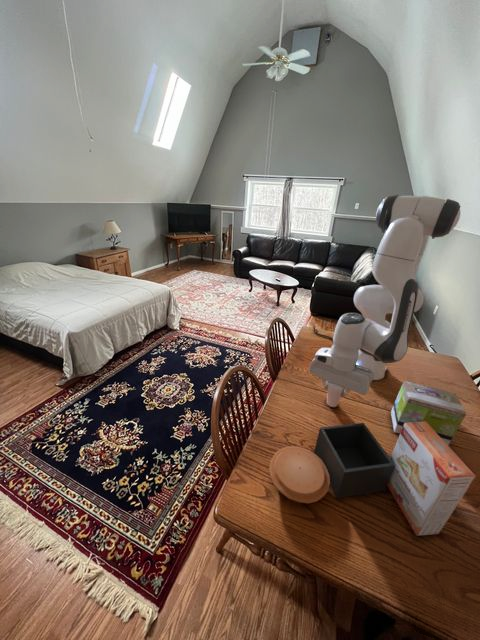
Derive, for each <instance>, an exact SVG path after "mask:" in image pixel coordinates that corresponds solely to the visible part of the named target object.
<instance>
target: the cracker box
mask: <svg viewBox="0 0 480 640" xmlns="http://www.w3.org/2000/svg"><path fill="white" fill-rule="evenodd" d="M389 457H390V459H391V460H392V461H393V463H394V464H395V468H394V470H393V472H392V475H391V477H390V479H389V482H388V484H387V486H386V487H387V488H388V490H389V491H390V493H391V495H392V497H393V499H394V500H395V502H396V504H397V506H398V507H399V509H400V510H401V512H402V514H403V516H404V517H405V519H406V521H407V523H408V524H409V526H410V528H411V529H412V531H413V533H414V535H415V536H416V537H419V536H430V535H431V536H432V535H440V533H441V532H442V530H443V528H444V527H445V525H446V524H447V523H448V521H449V519H450V518H451V516H452V514H453V513H454V511H455V510H456V509H457V506H458V505H459V504H460V502H461V500H462V499H463V497H464V496H465V494H466V493H467V491H468V490H469V488H470V486H471V485H472V483H473V482H474V480H475V478H476V475H475V473H474V472H472V470H471V469H470V468H469V467H468V466H467V465H466V463H464V461H463V460H462V459H461V458H460V457H459V456H458V454H456V453H455V451H453V450H452V448H451V447H450V446H449V445H447V444H446V443H445V442H444V441H443V440H442V439H441V438H440V436H439V435H438V434H437V433H436V432H435V431H434V430H433V429H432V428H431V427H430V425H429V424H428V423H427V422H407V423H404V426H403V428H402V430H401V433H399V436H398V438H397V440H396V443H395V445H394V448H393V450H392V452H391V455H390V456H389Z"/></svg>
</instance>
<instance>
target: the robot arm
mask: <svg viewBox="0 0 480 640" xmlns="http://www.w3.org/2000/svg"><path fill="white" fill-rule="evenodd" d="M461 207H462V206H461V204H460V202H459V201H457V200H454V199H450V198H447V199H445V198H440V197H435V196H428V195H422V196H421V195H419V196H418V195H399V194H392V195H387V196H385V198H383V199H382V200H381V202H380V204H379V205H378V207H377V208H376V213H375V224H376V226H377V228H379V230H381V233H383V236H382V238H381V240H380V242H379V245H378V247H377V250H376V252H375V256H374V258H373V261H372V266H371V267H372V268H371V272H372V275H373V277H374V280H375V281H376V282H377V283H378V284H369V285H362V286H360V287H358V288H357V289H356V291H355V292H354V295H353V304H354V307H355V308H356V309H357V311H359V312H360V313H358V312H346V313H344V314H342V315H341V316H340V317H339V319H338V321H337V323H336V325H335V329H334V332H333V335H332V336H333V337H332V336H329V335H326V334H323V333H322V334H321V333H318V332H317V331H316V326H315V325H313V326H312V328H313V333H315V334H316V335H318V336H320V337H325V338H328V339H331V340H332V345H331V347H320V348H319V349H318V350H317V351H316V353H315V354H314V358H313V359H312V360H311V362H310V364H309V367H308V372H309V374H310V375H312V376H314V377H317V378H320V379H321V381H322V384H323V390H325V391H328V383H327V381H329V382H332V383H334V384H337V385H339V386H342V387H344V388H345V389H344V391H343V392H342V394H341V397H342V398H344V399H345V398H346V396H347V394H349V393H350V392H354V393H357V394H359V395H362V396H365V395H367V394H368V393H369V390H370V387H371V382H373V381H379V380H382V379H383V378H385V376H386V375H385V374H386V371H387V364H392V363H397V362H400V361H401V360H403V358H405V356H406V354H407V352H408V348H409V335H410V331H411V327H412V323H413V322H412V321H413V317H414V314H415V313H416V312H418V311H419V310H420V309H421V308H422V307H423V304H424V299H425V298H424V294H423V292H422V290H421V289H419V283H418V282H417V273H418V269H419V266H420V263H421V261H422V258H423V256H424V253H425V250H426V248H427V245H428V242H429V237H431V239H432V240H435V238H443V237H445V236H447V235H449V234H450V232H451V231H453V230H454V229H455V228H456V226H457V225H458V223H459V221H460V219H461ZM387 314H392V315H391V319H390V320H391V321H390V322H389V321H388V320H386V316H387Z"/></svg>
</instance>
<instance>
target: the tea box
mask: <svg viewBox="0 0 480 640" xmlns="http://www.w3.org/2000/svg"><path fill="white" fill-rule="evenodd" d="M395 398H396V399H395V401H394V404H393V405H392V408H391V411H390V416H391V421H392V427H393V428H392V429H393V433H396V434H400V433H401V430H402V428H403V426H404V423H407V422H427V423H428V424H429V425H430V427H431V428H432V429H433V430H434V431H435V432H436V433H437V434H438V435H439V436H440V438H441V439H442V440H443V441H444V442H445V443H446V444H447V445H448V446H449V445H450V443H451V442H452V440H453V439H454V436H456V433H457V431H458V429H459V428H460V427H461V424H462V423H463V422H464V419H465V417H466V415H467V413H466V410H465V409H464V406H463V405H462V403H461V401H460V399H459V397H458V395H457V393H454V392H451V391H447V390H444V389H438V388H435V387H430V386H426V385H422V384H420V383H415V382H410V381H406V380H403V381H402V384H401V386H400V389H399V391H398V393H397V396H396V397H395Z"/></svg>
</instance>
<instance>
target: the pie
mask: <svg viewBox="0 0 480 640" xmlns="http://www.w3.org/2000/svg"><path fill="white" fill-rule="evenodd" d="M268 472H269V477H270V479H271V482H272V485H273V486H274V487H275V488H276V489H277V491H278V492H279V493H280V494H282V495H283V496H284V497H286V498H287V499H289V500H292V501H293V502H297V503H302V504H312V503H316V502H318V501H320V500H321V499H323V498H324V497H325V496H326V494H327V493H328V492H329V489H330V487H331V486H330V475H329V473H328V470H327V468H326V466H325V465H324V463H323V461H322V460H321V459H320V458H319V457H318V456H317V455H316V454H315V452H313V451H311V450H310V449H308V448H307V449H306V448H304V447H301V446H296V445H295V446H294V445H291V446H284V447H281V448H279V449H278V450H277V451H276V452H275V453H274V455H273V456H272V457H271V459H270V461H269V466H268Z"/></svg>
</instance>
